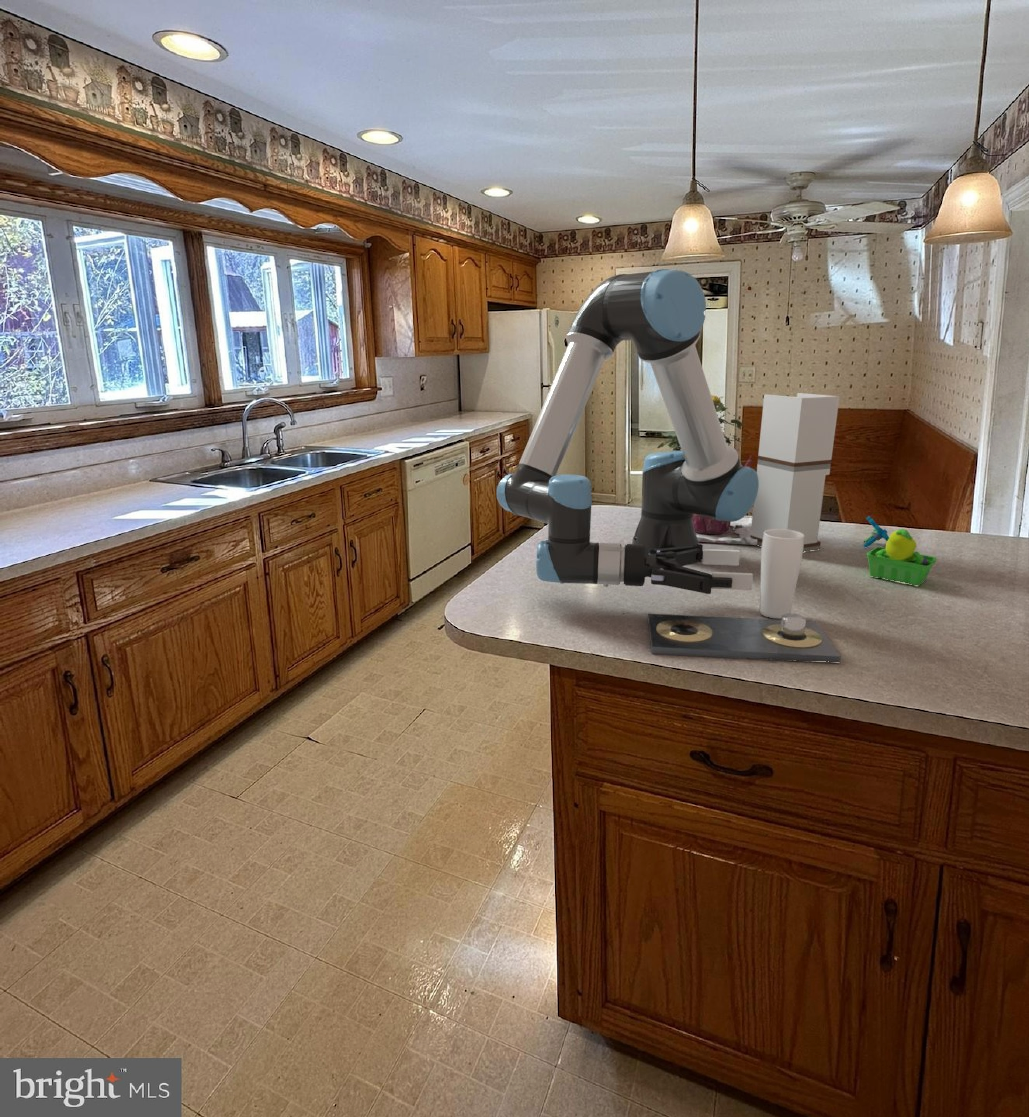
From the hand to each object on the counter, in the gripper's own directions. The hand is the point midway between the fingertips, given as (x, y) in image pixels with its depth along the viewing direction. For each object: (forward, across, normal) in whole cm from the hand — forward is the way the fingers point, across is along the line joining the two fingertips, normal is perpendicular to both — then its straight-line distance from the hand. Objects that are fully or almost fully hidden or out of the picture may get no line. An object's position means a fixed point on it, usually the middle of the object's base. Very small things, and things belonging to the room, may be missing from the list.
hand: (745, 569), depth 124 cm
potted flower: (-1, -59, -8) cm, 59 cm away
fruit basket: (+34, -24, -9) cm, 42 cm away
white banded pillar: (+17, -46, -9) cm, 49 cm away
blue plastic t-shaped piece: (+39, -47, -9) cm, 62 cm away
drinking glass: (+6, -1, -9) cm, 11 cm away
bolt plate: (-2, +12, -8) cm, 15 cm away
